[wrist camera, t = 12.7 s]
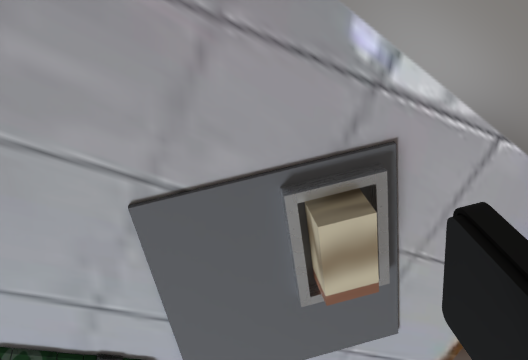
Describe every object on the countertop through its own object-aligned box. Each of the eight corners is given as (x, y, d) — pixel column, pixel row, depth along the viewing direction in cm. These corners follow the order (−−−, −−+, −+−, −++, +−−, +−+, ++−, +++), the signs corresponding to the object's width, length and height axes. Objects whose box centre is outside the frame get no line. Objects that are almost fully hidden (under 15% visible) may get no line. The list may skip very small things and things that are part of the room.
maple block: (304, 200, 44) (317, 227, 40) (358, 187, 44) (376, 212, 41) (313, 276, 48) (326, 305, 45) (362, 263, 49) (379, 291, 46)
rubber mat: (193, 387, 53) (194, 390, 53) (128, 205, 41) (128, 208, 40) (396, 330, 56) (398, 333, 55) (394, 141, 43) (396, 143, 43)
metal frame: (297, 296, 49) (301, 307, 48) (279, 187, 42) (284, 196, 41) (383, 273, 50) (389, 283, 49) (380, 162, 43) (387, 171, 42)
